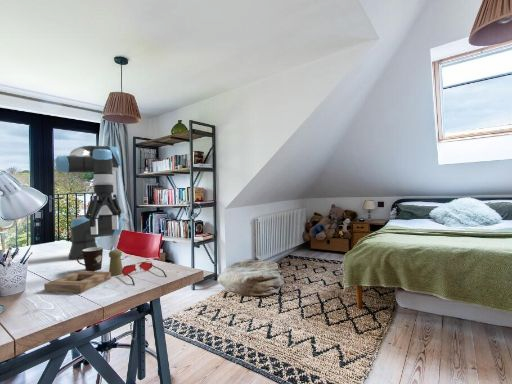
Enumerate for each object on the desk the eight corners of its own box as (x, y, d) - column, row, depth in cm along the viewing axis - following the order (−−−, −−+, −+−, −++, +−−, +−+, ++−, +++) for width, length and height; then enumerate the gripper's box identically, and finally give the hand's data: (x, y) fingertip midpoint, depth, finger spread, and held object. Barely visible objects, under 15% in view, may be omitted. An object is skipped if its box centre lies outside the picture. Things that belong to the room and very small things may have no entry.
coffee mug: (101, 265, 137) (100, 246, 137) (106, 269, 131) (105, 248, 131) (73, 271, 129) (72, 250, 129) (78, 275, 123) (77, 253, 123)
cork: (126, 272, 125) (125, 249, 124) (114, 276, 119) (113, 252, 119) (117, 271, 127) (116, 248, 127) (105, 275, 122) (104, 251, 121)
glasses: (152, 269, 129) (151, 259, 129) (167, 277, 117) (166, 266, 117) (120, 277, 120) (120, 265, 120) (133, 286, 108) (133, 274, 108)
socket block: (78, 277, 120) (78, 270, 120) (110, 278, 117) (110, 271, 117) (44, 291, 104) (44, 283, 104) (80, 293, 101) (80, 285, 101)
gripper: (114, 184, 133) (115, 227, 134) (73, 184, 109) (75, 236, 109) (128, 184, 132) (130, 227, 133) (90, 183, 108) (92, 236, 108)
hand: (105, 231), depth 121 cm, fingers open, 13 cm apart
